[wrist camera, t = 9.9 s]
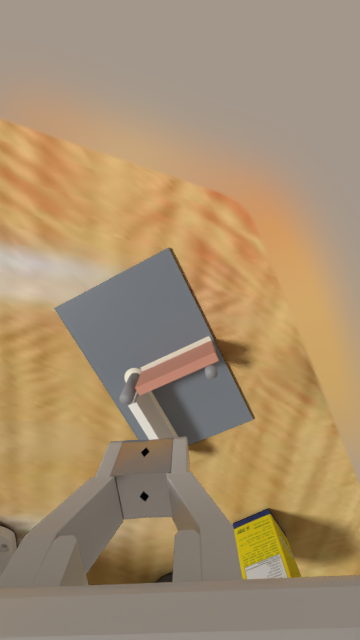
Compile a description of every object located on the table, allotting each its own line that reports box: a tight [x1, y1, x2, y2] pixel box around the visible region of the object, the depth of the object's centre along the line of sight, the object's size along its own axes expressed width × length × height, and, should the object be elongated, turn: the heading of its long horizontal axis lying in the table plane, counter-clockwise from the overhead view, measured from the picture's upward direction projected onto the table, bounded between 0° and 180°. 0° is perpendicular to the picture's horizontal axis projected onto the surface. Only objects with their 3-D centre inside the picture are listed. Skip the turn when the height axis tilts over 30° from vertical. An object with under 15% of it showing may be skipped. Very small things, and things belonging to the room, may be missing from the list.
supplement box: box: [233, 509, 301, 579], centre depth 29 cm, size 6×6×11 cm
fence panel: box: [135, 341, 219, 396], centre depth 26 cm, size 9×1×4 cm, turn 117°
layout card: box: [54, 248, 253, 445], centre depth 28 cm, size 23×14×1 cm, turn 27°
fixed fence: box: [119, 363, 218, 440], centre depth 27 cm, size 12×10×5 cm
